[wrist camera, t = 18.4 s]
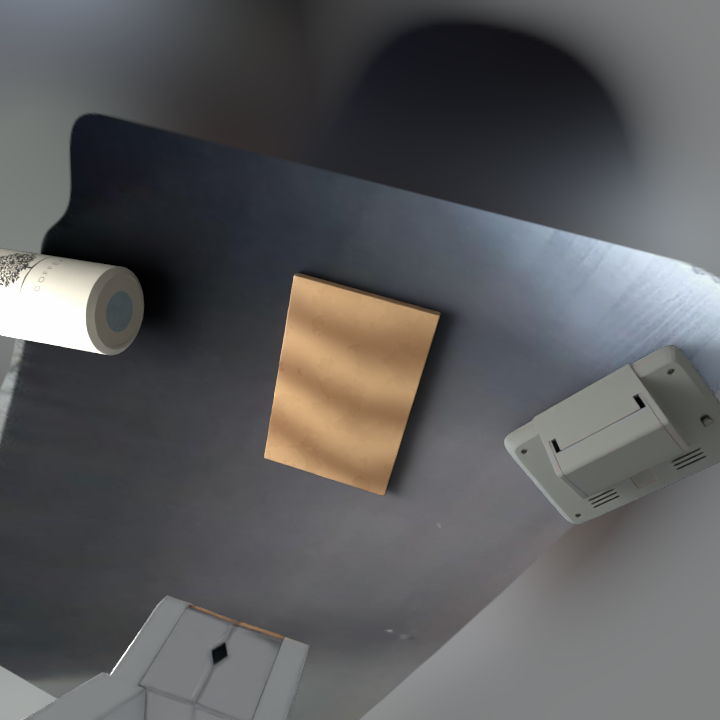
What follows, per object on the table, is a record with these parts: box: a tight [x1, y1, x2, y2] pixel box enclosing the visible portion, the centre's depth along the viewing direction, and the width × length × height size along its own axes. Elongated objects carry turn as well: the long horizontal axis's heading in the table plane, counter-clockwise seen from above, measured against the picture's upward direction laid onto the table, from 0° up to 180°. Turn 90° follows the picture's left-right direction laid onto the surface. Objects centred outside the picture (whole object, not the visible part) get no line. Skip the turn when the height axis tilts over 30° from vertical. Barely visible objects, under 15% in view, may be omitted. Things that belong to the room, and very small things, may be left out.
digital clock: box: [504, 345, 720, 524], centre depth 42 cm, size 16×9×11 cm
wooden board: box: [264, 273, 440, 496], centre depth 47 cm, size 20×13×1 cm, turn 168°
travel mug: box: [0, 248, 144, 355], centre depth 46 cm, size 8×8×18 cm
